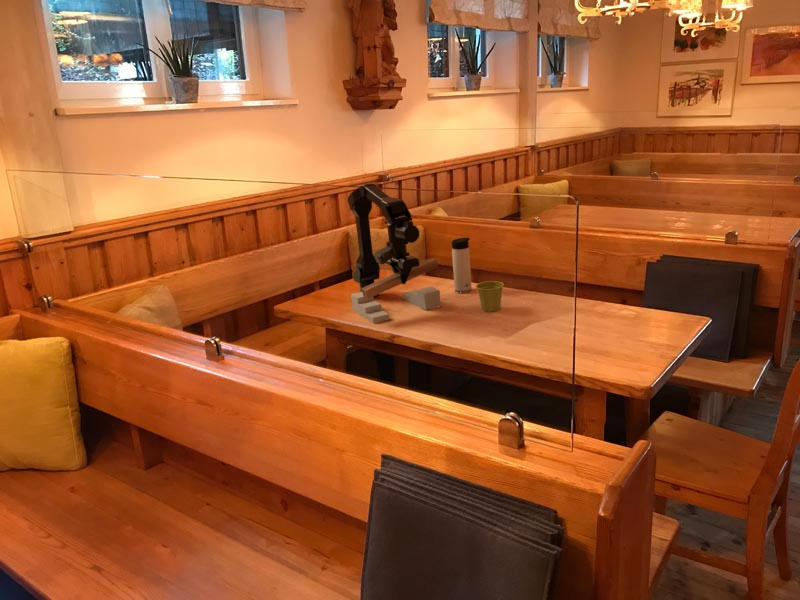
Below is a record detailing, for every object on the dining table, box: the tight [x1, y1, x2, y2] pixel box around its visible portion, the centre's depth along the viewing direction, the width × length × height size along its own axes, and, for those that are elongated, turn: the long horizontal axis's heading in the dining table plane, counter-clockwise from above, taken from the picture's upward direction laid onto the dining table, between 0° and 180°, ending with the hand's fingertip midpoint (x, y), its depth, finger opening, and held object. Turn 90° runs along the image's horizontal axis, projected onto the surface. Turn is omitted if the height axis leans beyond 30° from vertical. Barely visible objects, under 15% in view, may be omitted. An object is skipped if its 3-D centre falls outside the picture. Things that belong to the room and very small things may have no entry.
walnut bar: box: [361, 256, 439, 299], centre depth 230 cm, size 4×28×3 cm, turn 117°
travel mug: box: [451, 237, 473, 294], centre depth 248 cm, size 6×7×20 cm
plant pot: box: [475, 280, 505, 313], centre depth 228 cm, size 9×9×9 cm
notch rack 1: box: [350, 291, 390, 324], centre depth 234 cm, size 18×6×6 cm, turn 26°
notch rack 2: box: [401, 286, 442, 311], centre depth 242 cm, size 18×6×6 cm, turn 26°
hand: (401, 282), depth 231 cm, fingers closed on walnut bar, 3 cm apart
